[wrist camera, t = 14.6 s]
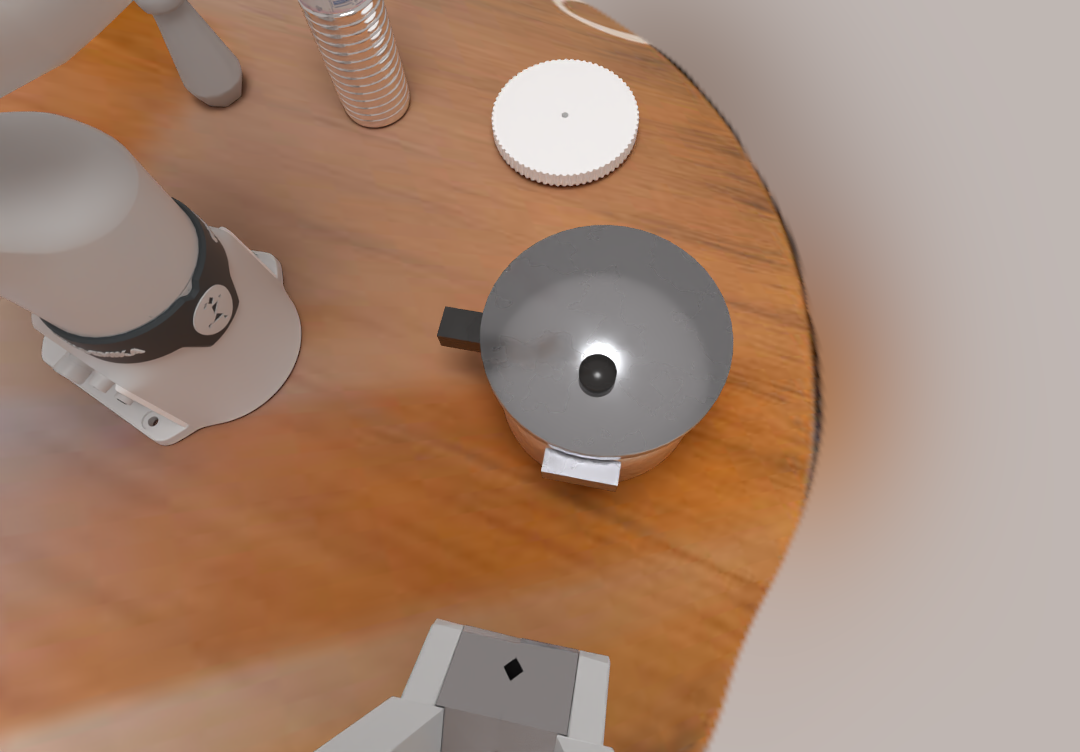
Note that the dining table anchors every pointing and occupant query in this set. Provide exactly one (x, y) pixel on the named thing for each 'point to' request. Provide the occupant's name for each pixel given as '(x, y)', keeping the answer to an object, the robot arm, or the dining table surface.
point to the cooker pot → (556, 465)
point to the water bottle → (360, 58)
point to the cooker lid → (606, 342)
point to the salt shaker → (197, 52)
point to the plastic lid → (565, 122)
